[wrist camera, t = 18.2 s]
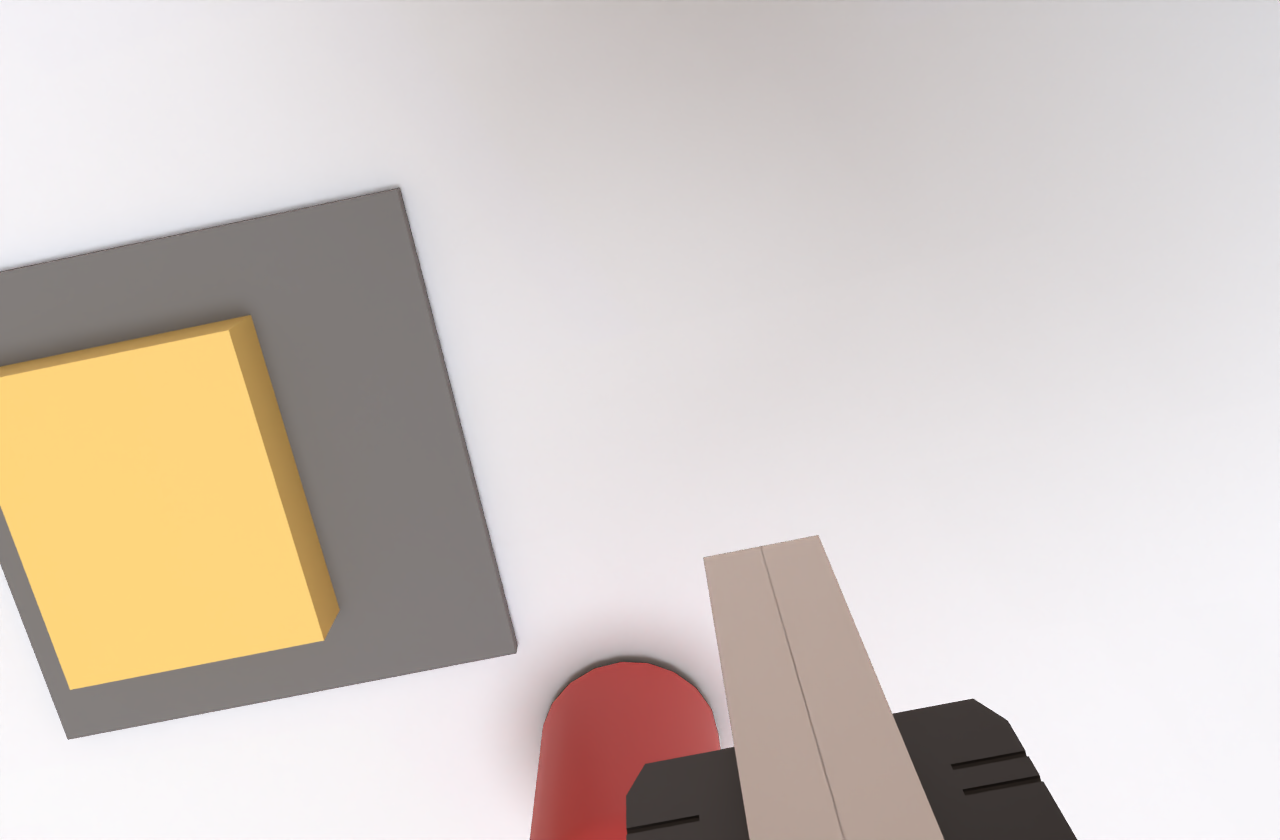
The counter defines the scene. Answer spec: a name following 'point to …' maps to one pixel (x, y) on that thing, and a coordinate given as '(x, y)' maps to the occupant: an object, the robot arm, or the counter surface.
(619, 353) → the counter surface
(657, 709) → the beer can
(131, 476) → the slab
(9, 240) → the counter surface
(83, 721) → the mat
